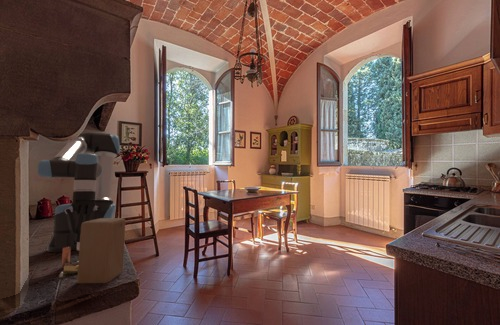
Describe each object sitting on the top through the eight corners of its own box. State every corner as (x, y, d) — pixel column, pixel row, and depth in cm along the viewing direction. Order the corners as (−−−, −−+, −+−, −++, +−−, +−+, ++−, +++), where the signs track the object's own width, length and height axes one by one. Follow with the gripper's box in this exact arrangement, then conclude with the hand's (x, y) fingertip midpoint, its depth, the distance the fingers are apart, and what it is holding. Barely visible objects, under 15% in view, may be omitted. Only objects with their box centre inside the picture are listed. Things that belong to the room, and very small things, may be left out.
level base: (62, 272, 84) (63, 265, 84) (92, 268, 88) (92, 261, 89) (56, 281, 76) (57, 273, 76) (89, 275, 81) (89, 268, 81)
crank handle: (52, 268, 84) (54, 249, 85) (74, 263, 90) (76, 245, 91) (68, 275, 78) (70, 254, 78) (91, 269, 84) (92, 249, 84)
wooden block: (123, 274, 82) (126, 217, 84) (107, 286, 72) (110, 221, 74) (95, 274, 82) (99, 218, 84) (75, 286, 72) (79, 222, 74)
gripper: (96, 190, 101) (93, 245, 98) (61, 191, 90) (56, 252, 87) (106, 190, 98) (102, 247, 95) (70, 190, 86) (65, 255, 84)
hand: (80, 249), depth 91 cm, fingers closed
